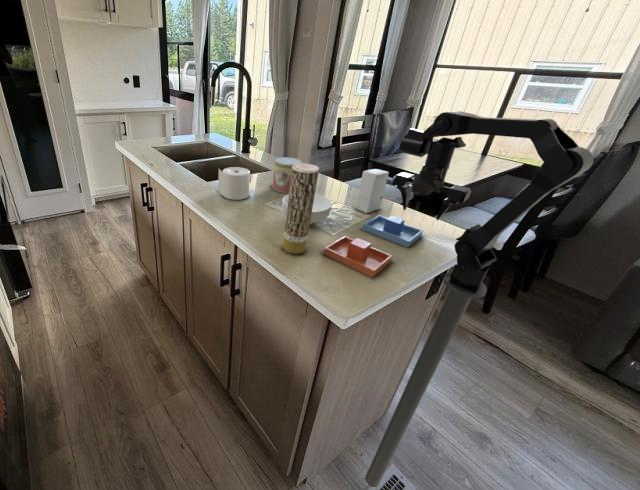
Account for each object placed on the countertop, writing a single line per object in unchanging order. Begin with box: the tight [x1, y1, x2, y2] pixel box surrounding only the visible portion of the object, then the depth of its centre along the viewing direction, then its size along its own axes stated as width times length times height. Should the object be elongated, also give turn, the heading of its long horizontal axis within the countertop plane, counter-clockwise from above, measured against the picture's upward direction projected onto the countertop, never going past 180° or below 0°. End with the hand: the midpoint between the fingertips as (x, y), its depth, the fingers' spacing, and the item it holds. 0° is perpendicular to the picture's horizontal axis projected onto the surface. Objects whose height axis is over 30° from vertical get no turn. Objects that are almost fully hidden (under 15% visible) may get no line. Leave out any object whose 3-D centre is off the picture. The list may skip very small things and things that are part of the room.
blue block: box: [383, 215, 406, 236], centre depth 107 cm, size 4×4×4 cm
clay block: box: [347, 237, 372, 262], centre depth 93 cm, size 4×4×4 cm
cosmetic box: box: [354, 168, 390, 214], centre depth 122 cm, size 8×6×15 cm
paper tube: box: [282, 162, 320, 255], centre depth 91 cm, size 7×7×25 cm
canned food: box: [271, 156, 303, 194], centre depth 138 cm, size 11×11×12 cm
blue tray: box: [361, 214, 424, 248], centre depth 108 cm, size 15×11×2 cm
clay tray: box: [323, 235, 393, 278], centre depth 93 cm, size 15×11×2 cm
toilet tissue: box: [217, 166, 251, 201], centre depth 130 cm, size 11×12×10 cm
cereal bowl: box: [282, 193, 333, 225], centre depth 113 cm, size 17×17×7 cm
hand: (420, 214), depth 94 cm, fingers open, 9 cm apart
